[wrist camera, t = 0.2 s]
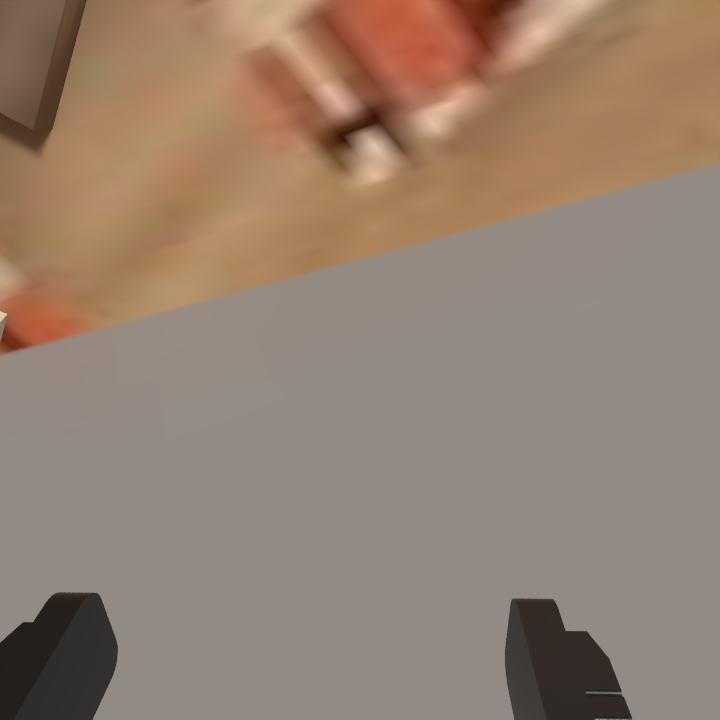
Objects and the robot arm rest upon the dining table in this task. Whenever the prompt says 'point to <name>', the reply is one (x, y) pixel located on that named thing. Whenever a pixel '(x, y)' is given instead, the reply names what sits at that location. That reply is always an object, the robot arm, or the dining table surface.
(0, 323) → the mallet
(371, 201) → the dining table surface
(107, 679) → the robot arm
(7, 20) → the stand
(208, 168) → the dining table surface
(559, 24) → the dining table surface
